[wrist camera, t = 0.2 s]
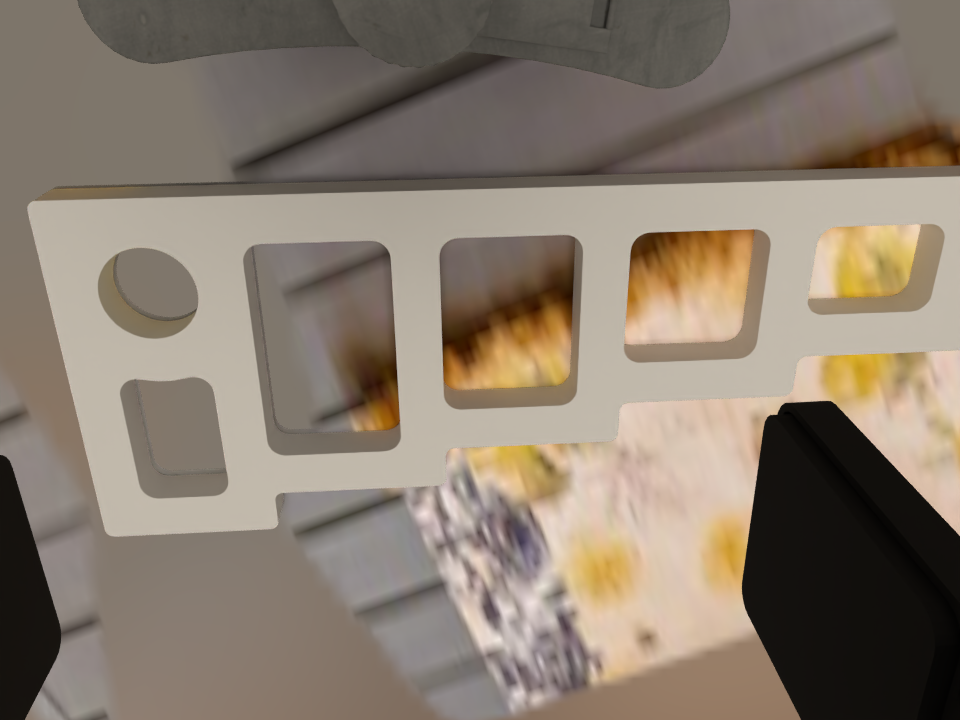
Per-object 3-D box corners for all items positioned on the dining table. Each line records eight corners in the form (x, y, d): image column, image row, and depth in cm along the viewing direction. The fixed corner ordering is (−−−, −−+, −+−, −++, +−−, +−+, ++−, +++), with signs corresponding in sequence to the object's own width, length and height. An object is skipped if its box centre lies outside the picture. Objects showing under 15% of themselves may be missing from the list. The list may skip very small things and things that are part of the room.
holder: (980, 162, 42) (1015, 174, 40) (906, 470, 50) (931, 496, 47) (49, 186, 40) (25, 201, 37) (122, 507, 47) (106, 537, 45)
